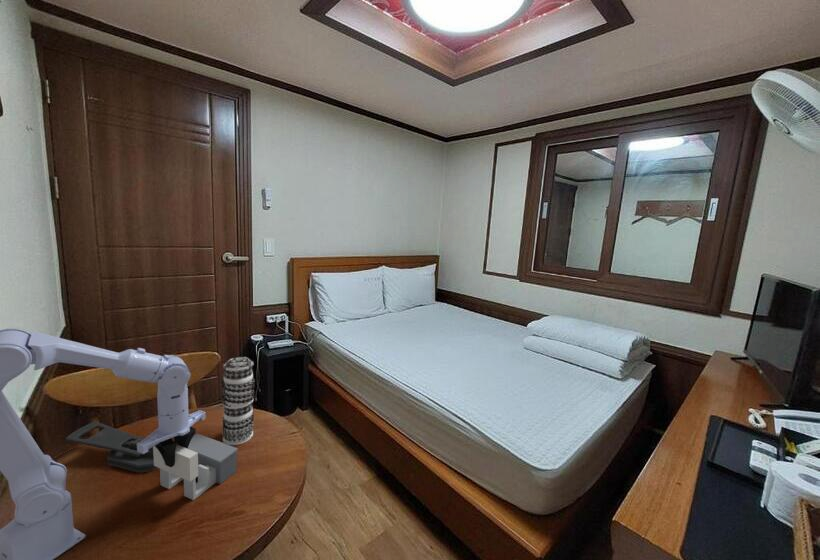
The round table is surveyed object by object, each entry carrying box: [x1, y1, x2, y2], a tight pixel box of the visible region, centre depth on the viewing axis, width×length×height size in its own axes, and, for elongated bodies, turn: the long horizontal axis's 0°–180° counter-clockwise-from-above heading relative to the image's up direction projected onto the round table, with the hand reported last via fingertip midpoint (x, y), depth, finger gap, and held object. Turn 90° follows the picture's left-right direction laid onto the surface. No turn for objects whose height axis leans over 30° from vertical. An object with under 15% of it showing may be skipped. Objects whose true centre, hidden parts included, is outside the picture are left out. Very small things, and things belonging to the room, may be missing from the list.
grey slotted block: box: [159, 433, 239, 501], centre depth 84 cm, size 11×14×7 cm
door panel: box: [153, 445, 198, 482], centre depth 78 cm, size 12×2×6 cm, turn 71°
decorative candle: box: [220, 356, 256, 446], centre depth 99 cm, size 9×9×25 cm
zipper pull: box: [65, 421, 159, 474], centre depth 89 cm, size 9×7×25 cm
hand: (175, 461), depth 78 cm, fingers closed on door panel, 2 cm apart
